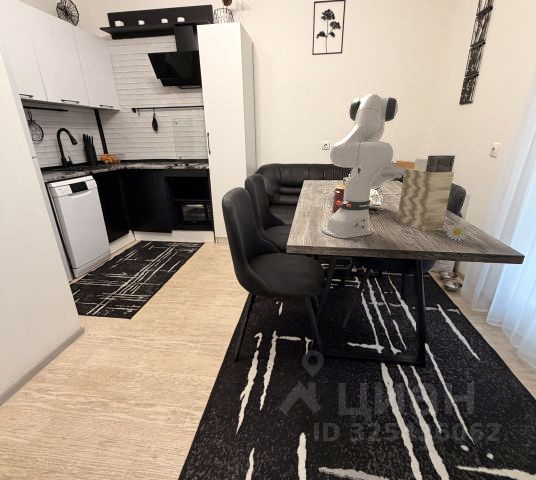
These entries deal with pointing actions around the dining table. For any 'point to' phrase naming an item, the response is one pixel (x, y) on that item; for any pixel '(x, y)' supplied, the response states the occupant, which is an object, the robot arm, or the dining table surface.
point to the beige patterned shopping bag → (426, 194)
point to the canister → (338, 196)
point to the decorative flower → (456, 231)
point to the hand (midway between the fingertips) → (400, 162)
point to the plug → (414, 164)
